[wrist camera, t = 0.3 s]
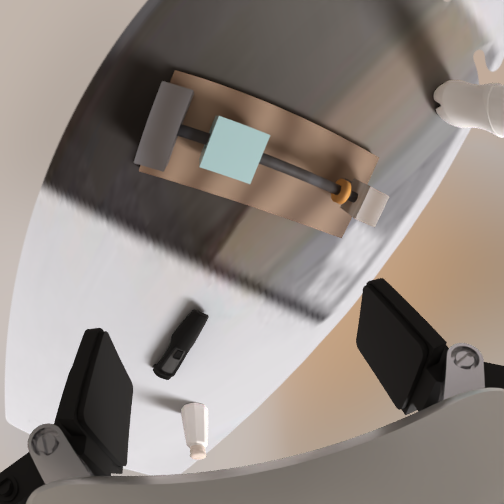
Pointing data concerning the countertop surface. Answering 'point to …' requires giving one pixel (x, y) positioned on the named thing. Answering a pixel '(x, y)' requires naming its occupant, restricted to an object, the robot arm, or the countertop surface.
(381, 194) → the linear slide rail
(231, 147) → the sleeve
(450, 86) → the water bottle
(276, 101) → the countertop surface
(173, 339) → the electric trimmer
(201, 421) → the pepper shaker
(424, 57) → the countertop surface
